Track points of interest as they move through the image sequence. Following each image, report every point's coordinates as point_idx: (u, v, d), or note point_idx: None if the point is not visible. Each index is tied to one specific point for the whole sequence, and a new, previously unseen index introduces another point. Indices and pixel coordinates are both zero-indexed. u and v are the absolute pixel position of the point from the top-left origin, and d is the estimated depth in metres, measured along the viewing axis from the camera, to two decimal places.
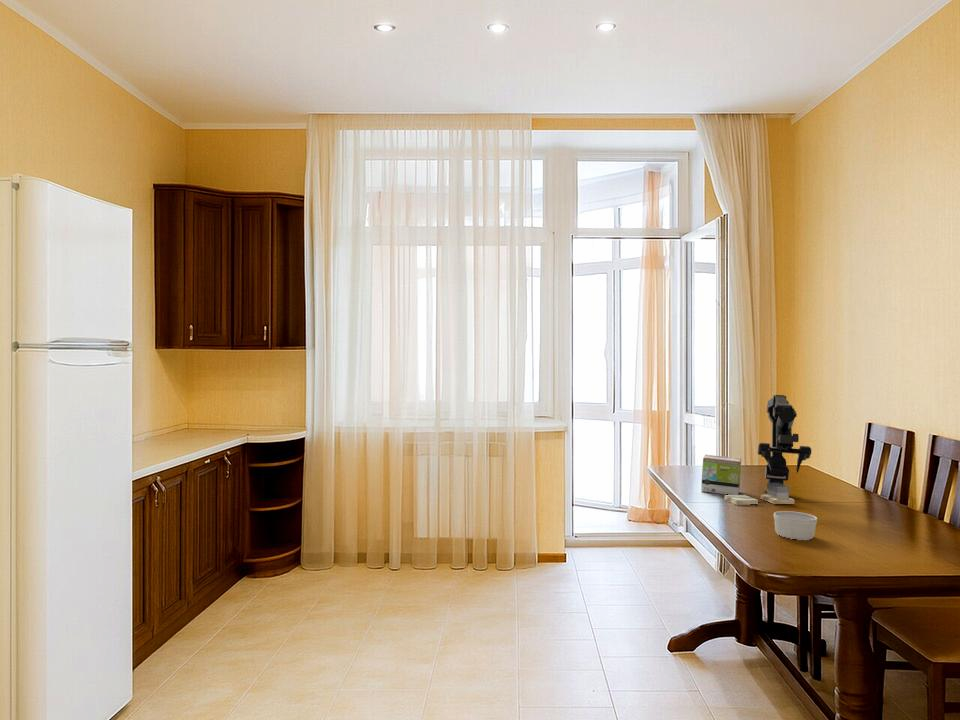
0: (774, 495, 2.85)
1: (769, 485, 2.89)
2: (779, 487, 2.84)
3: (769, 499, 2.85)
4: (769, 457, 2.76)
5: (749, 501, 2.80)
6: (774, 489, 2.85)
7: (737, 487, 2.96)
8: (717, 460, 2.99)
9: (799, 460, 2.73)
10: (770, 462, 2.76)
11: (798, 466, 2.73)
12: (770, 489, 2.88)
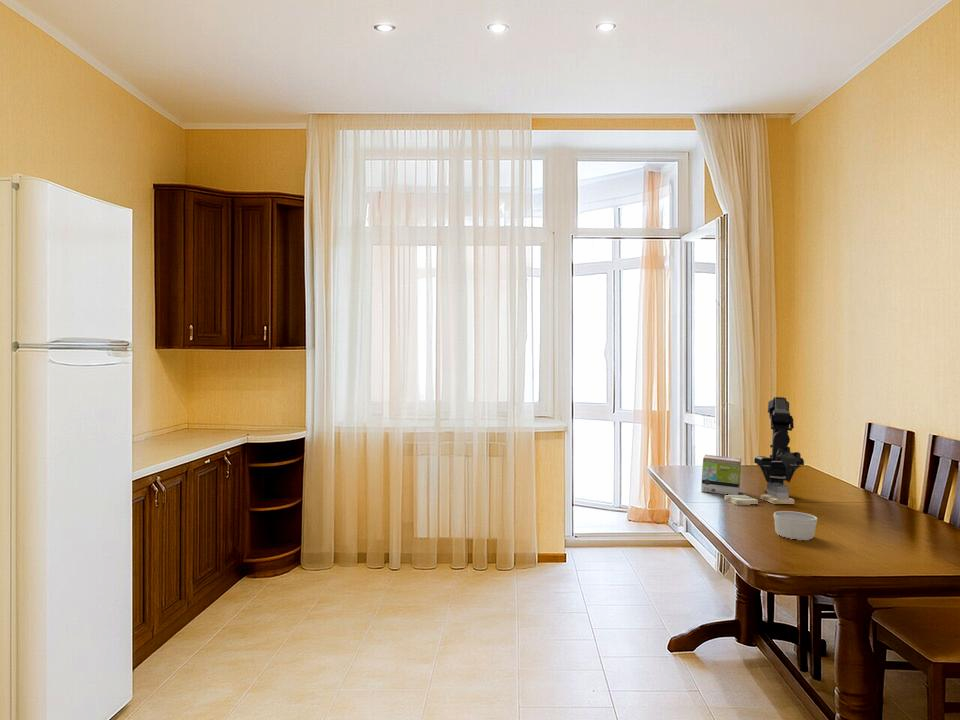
0: (774, 495, 2.85)
1: (769, 485, 2.89)
2: (779, 487, 2.84)
3: (769, 499, 2.85)
4: (768, 471, 2.85)
5: (749, 501, 2.80)
6: (774, 489, 2.85)
7: (737, 487, 2.96)
8: (717, 460, 2.99)
9: (792, 471, 2.87)
10: (768, 476, 2.85)
11: (790, 477, 2.87)
12: (770, 489, 2.88)
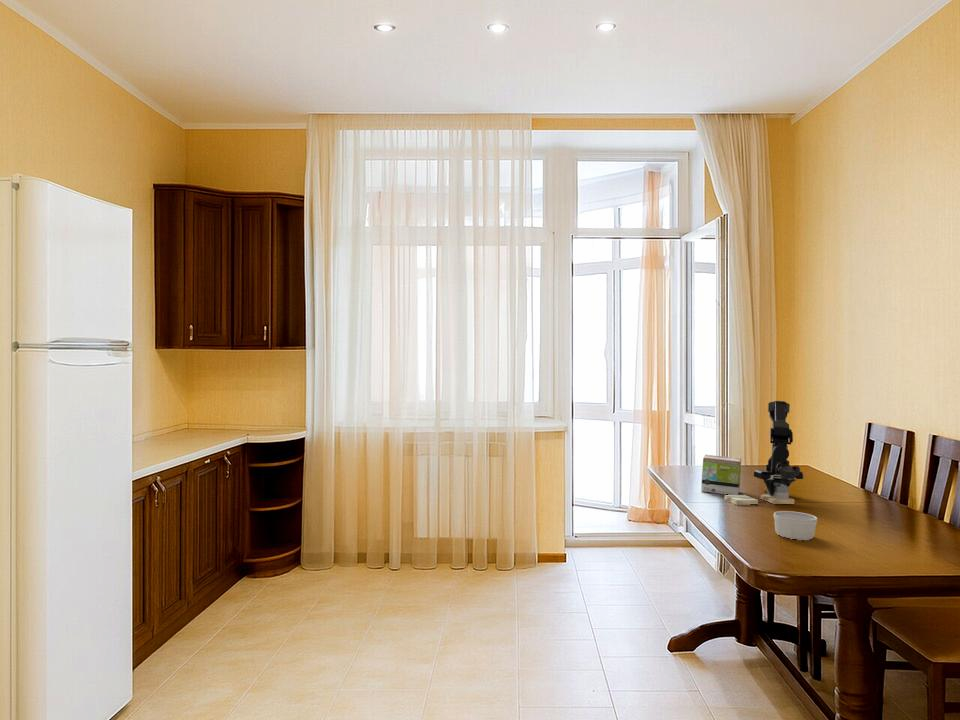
0: (774, 495, 2.85)
1: None
2: (779, 487, 2.84)
3: (769, 499, 2.85)
4: (772, 485, 2.85)
5: (749, 501, 2.80)
6: (774, 489, 2.85)
7: (737, 487, 2.96)
8: (717, 460, 2.99)
9: (787, 485, 2.87)
10: (772, 489, 2.86)
11: None
12: None
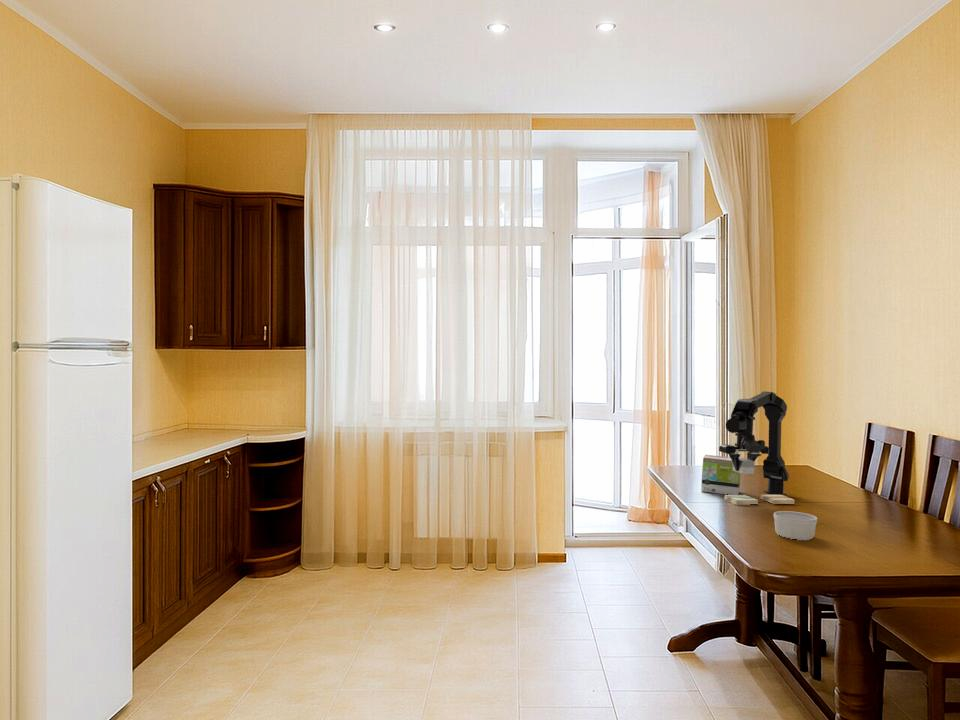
0: (739, 470, 2.82)
1: None
2: (744, 461, 2.80)
3: (769, 499, 2.85)
4: (737, 460, 2.82)
5: (749, 501, 2.80)
6: (740, 464, 2.81)
7: (737, 487, 2.96)
8: (717, 460, 2.99)
9: (752, 460, 2.83)
10: (737, 464, 2.82)
11: None
12: None
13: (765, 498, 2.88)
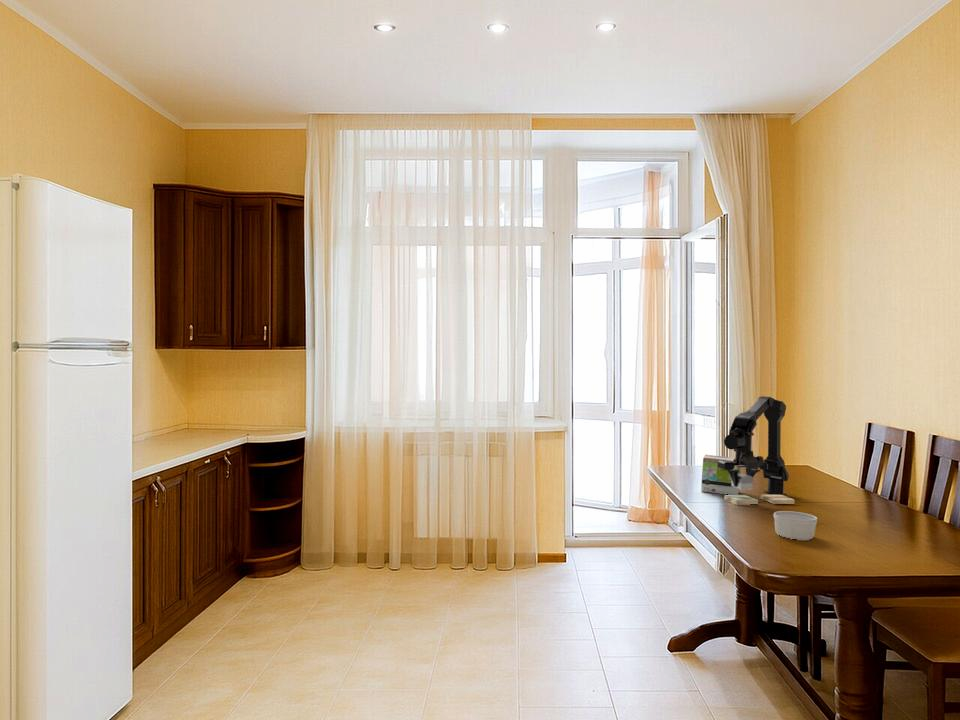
0: (738, 486, 2.82)
1: None
2: (743, 477, 2.80)
3: (769, 499, 2.85)
4: (736, 475, 2.82)
5: (749, 501, 2.80)
6: (739, 480, 2.82)
7: None
8: (717, 460, 2.99)
9: None
10: (736, 480, 2.83)
11: None
12: None
13: (765, 498, 2.88)
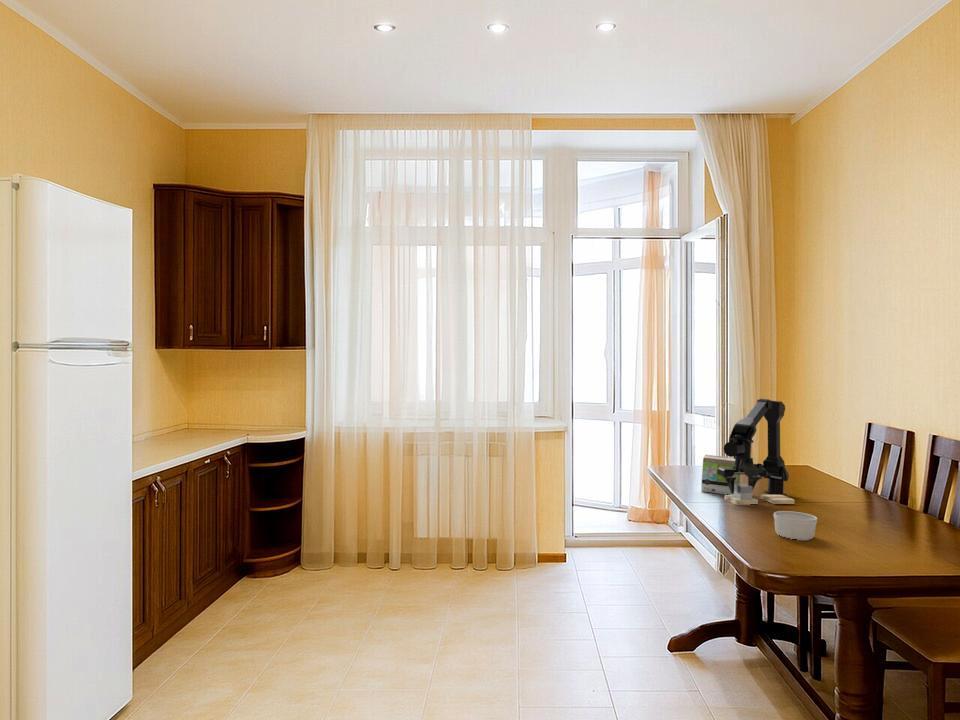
0: (737, 495, 2.82)
1: None
2: (742, 487, 2.80)
3: (769, 499, 2.85)
4: (732, 483, 2.82)
5: (749, 501, 2.80)
6: (738, 490, 2.82)
7: None
8: (717, 460, 2.99)
9: (753, 483, 2.84)
10: (733, 487, 2.82)
11: None
12: (734, 489, 2.85)
13: (765, 498, 2.88)
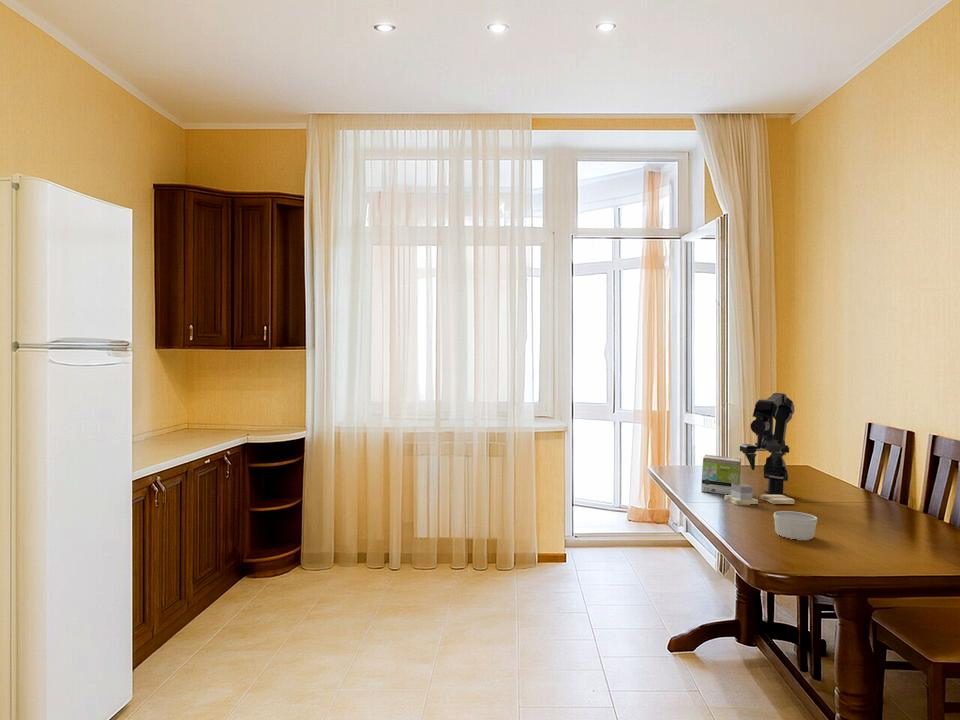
0: (737, 495, 2.82)
1: (733, 485, 2.85)
2: (742, 487, 2.80)
3: (769, 499, 2.85)
4: (753, 459, 2.86)
5: (749, 501, 2.80)
6: (738, 490, 2.82)
7: None
8: (717, 460, 2.99)
9: (777, 459, 2.88)
10: (753, 463, 2.87)
11: (776, 465, 2.89)
12: (734, 489, 2.85)
13: (765, 498, 2.88)
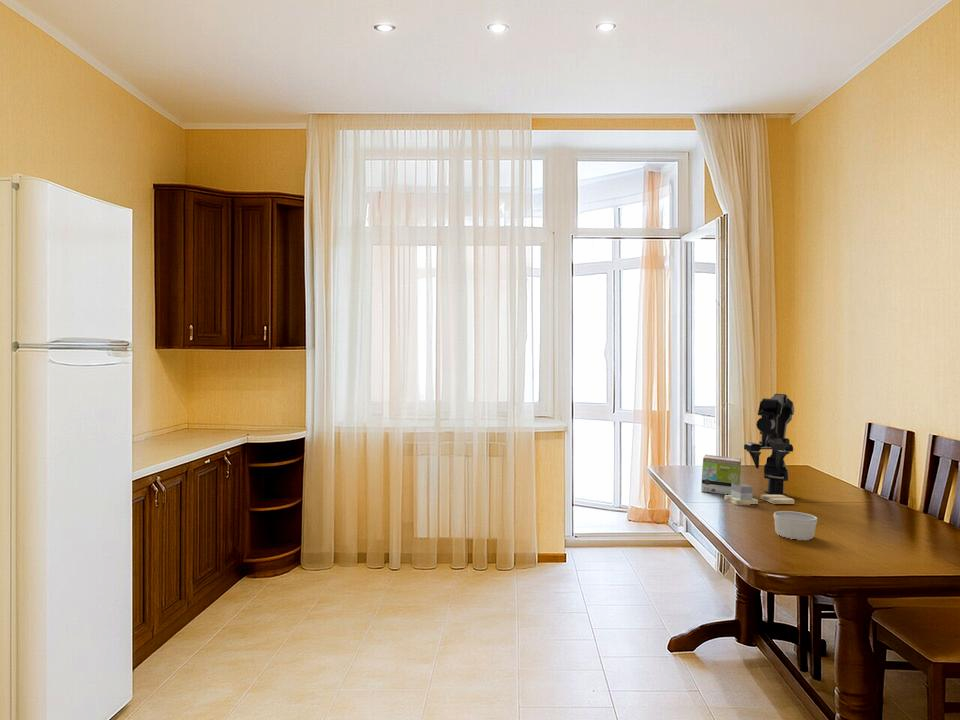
0: (737, 495, 2.82)
1: (733, 485, 2.85)
2: (742, 487, 2.80)
3: (769, 499, 2.85)
4: (757, 457, 2.87)
5: (749, 501, 2.80)
6: (738, 490, 2.82)
7: None
8: (717, 460, 2.99)
9: (781, 458, 2.89)
10: (758, 462, 2.87)
11: (780, 463, 2.89)
12: (734, 489, 2.85)
13: (765, 498, 2.88)
